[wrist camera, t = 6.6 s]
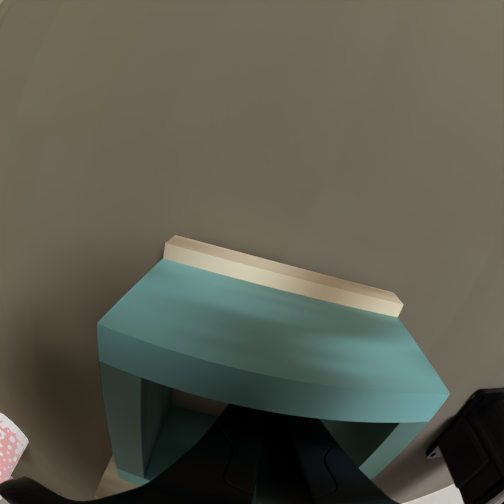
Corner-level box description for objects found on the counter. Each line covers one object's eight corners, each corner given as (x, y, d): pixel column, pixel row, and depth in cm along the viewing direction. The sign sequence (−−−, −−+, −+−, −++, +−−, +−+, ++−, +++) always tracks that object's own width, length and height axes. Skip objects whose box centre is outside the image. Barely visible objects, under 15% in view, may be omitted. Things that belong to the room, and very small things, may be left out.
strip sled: (431, 302, 10) (501, 378, 5) (261, 523, 17) (258, 564, 12) (124, 221, 9) (25, 270, 5) (133, 494, 17) (118, 534, 12)
